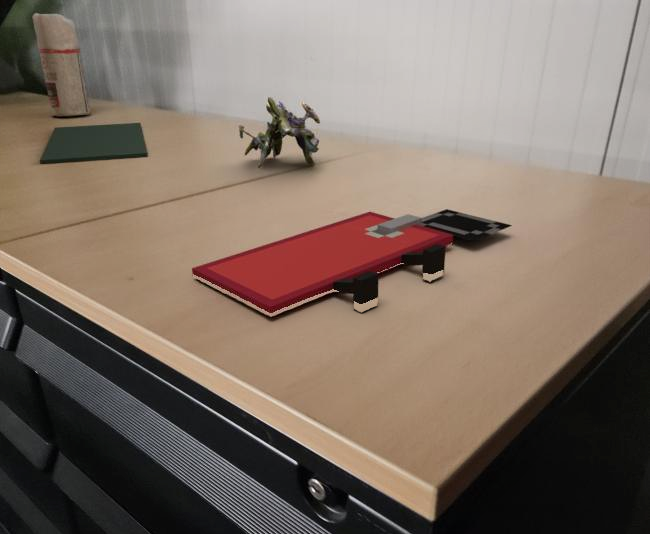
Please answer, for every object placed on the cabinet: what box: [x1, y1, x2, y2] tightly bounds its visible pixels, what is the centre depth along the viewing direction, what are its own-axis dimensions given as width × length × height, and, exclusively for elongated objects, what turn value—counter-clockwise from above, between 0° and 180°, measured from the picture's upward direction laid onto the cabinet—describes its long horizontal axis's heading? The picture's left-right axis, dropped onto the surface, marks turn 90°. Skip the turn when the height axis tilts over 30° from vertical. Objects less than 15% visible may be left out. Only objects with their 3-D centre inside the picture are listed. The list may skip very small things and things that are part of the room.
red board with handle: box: [191, 208, 513, 313], centre depth 58 cm, size 30×3×15 cm
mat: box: [39, 122, 149, 165], centre depth 109 cm, size 16×29×1 cm, turn 17°
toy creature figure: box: [238, 96, 321, 169], centre depth 91 cm, size 11×11×12 cm
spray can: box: [31, 12, 92, 117], centre depth 130 cm, size 8×8×20 cm
